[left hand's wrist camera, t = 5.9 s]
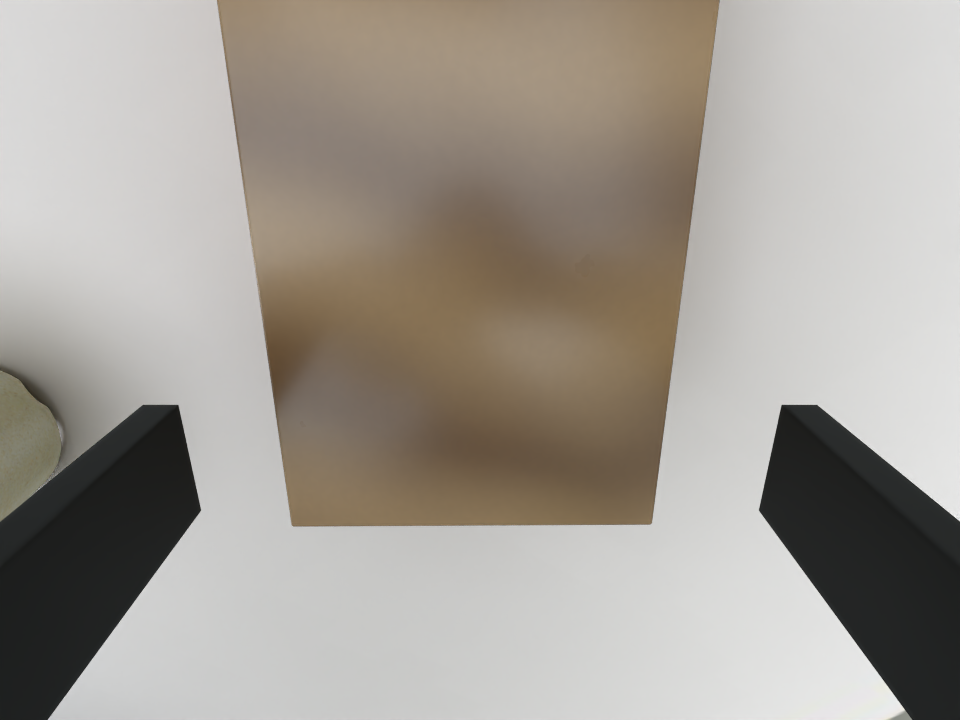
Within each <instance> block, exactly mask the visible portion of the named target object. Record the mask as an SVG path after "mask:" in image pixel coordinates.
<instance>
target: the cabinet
mask: <svg viewBox="0 0 960 720" xmlns="http://www.w3.org/2000/svg"><path fill="white" fill-rule="evenodd" d="M719 1H720V0H217V4H218V11H219V18H220V25H221V32H222V39H223V46H224V53H225V60H226V67H227V74H228V81H229V88H230V95H231V102H232V109H233V116H234V123H235V130H236V137H237V144H238V152H239V159H240V166H241V173H242V180H243V187H244V194H245V201H246V208H247V215H248V222H249V229H250V236H251V243H252V250H253V257H254V264H255V271H256V278H257V285H258V292H259V299H260V306H261V313H262V320H263V327H264V334H265V341H266V348H267V355H268V362H269V369H270V376H271V383H272V390H273V397H274V404H275V411H276V418H277V425H278V433H279V440H280V447H281V454H282V461H283V468H284V475H285V482H286V489H287V496H288V503H289V510H290V517H291V524H292V526H464V525H650V524H651V523H652V518H653V510H654V502H655V495H656V487H657V479H658V472H659V464H660V456H661V448H662V441H663V433H664V425H665V417H666V410H667V402H668V394H669V387H670V379H671V371H672V363H673V356H674V348H675V340H676V333H677V325H678V317H679V309H680V302H681V294H682V286H683V279H684V271H685V263H686V255H687V248H688V240H689V232H690V225H691V217H692V209H693V201H694V194H695V186H696V178H697V171H698V163H699V155H700V147H701V140H702V132H703V124H704V117H705V109H706V101H707V93H708V86H709V78H710V70H711V63H712V55H713V47H714V39H715V32H716V24H717V16H718V9H719Z"/></svg>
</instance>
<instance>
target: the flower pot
mask: <svg viewBox="0 0 960 720" xmlns="http://www.w3.org/2000/svg"><path fill="white" fill-rule="evenodd" d="M60 454H61V438H60V434H59V429H58V426H57V423H56V421H55V419H54V417H53V415H52V413H51V411H50V410H49V408H48V407H47V406H45V405H44V404H42V403H40V402H39V401H37V400H36V399H35V398H34V397H33V396H32V395H31V394H30V393H29V392H28V390H27V389H26V388H25V387H24V385H23V384H22V382H21V381H20V380H19V379H17V378H15V377H13V376H12V375H10V374H7V373H5V372H3V371H1V370H0V521H2V520H3V519H4V518H5V517H6V516H8V515H9V514H10V513H11V512H13V511H14V510H15V509H16V508H17V507H19V506H20V505H21V504H22V503H24V502H25V501H26V500H27V499H29V498H30V496H31V495H32V494H33V493H34V492H35V491H36V490H37V489H38V488H39V487H40V486H41V485H42V484H43V483H44V482H45V481H46V480H47V479H48V478H49V477H50V475H51V474H52V473H53V472H54V470H55V468H56V466H57V464H58V461H59V458H60Z"/></svg>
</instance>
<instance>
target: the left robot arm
mask: <svg viewBox="0 0 960 720" xmlns="http://www.w3.org/2000/svg"><path fill="white" fill-rule="evenodd" d="M200 511H201V508H200V503H199V499H198V494H197V489H196V485H195V480H194V475H193V471H192V466H191V462H190V457H189V452H188V448H187V443H186V438H185V434H184V429H183V425H182V420H181V415H180V411H179V406H178V405H142V406H141V407H140V408H139V409H138V410H136V411H135V412H134V413H133V414H131V415H130V416H129V417H128V418H127V419H125V420H124V421H123V422H122V423H120V424H119V425H118V426H117V427H115V428H114V429H113V430H112V431H111V432H109V433H108V434H107V435H106V436H104V437H103V438H102V439H101V440H100V441H98V442H97V443H96V444H95V445H93V446H92V447H91V448H90V449H89V450H87V451H86V452H85V453H84V454H82V455H81V456H80V457H79V458H78V459H76V460H75V461H74V462H73V463H71V464H70V465H69V466H68V467H66V468H65V469H64V470H63V471H62V472H60V473H59V474H58V475H57V476H55V477H54V478H53V479H52V480H51V481H49V482H48V483H47V484H46V485H44V486H43V487H42V488H41V489H40V490H38V491H37V492H36V493H35V494H33V495H32V496H31V497H30V498H29V499H27V500H26V501H25V502H24V503H22V504H21V505H20V506H19V507H17V508H16V509H15V510H14V511H13V512H11V513H10V514H9V515H8V516H6V517H5V518H4V519H3V520H2V521H0V720H48V718H49V717H50V716H51V714H52V713H53V712H54V710H55V709H56V708H57V706H58V705H59V703H60V702H61V701H62V699H63V698H64V697H65V695H66V694H67V693H68V691H69V690H70V688H71V687H72V686H73V684H74V683H75V682H76V680H77V679H78V678H79V676H80V675H81V673H82V672H83V671H84V669H85V668H86V667H87V665H88V664H89V663H90V661H91V660H92V658H93V657H94V656H95V654H96V653H97V652H98V650H99V649H100V648H101V646H102V645H103V643H104V642H105V641H106V639H107V638H108V637H109V635H110V634H111V633H112V631H113V630H114V628H115V627H116V626H117V624H118V623H119V622H120V620H121V619H122V618H123V616H124V615H125V613H126V612H127V611H128V609H129V608H130V607H131V605H132V604H133V603H134V601H135V600H136V598H137V597H138V596H139V594H140V593H141V592H142V590H143V589H144V588H145V586H146V585H147V583H148V582H149V581H150V579H151V578H152V577H153V575H154V574H155V573H156V571H157V570H158V568H159V567H160V566H161V564H162V563H163V562H164V560H165V559H166V558H167V556H168V555H169V553H170V552H171V551H172V549H173V548H174V547H175V545H176V544H177V543H178V541H179V540H180V538H181V537H182V536H183V534H184V533H185V532H186V530H187V529H188V528H189V526H190V525H191V523H192V522H193V521H194V519H195V518H196V517H197V515H198V514H199V513H200ZM759 511H760V513H761V514H762V515H763V517H764V518H765V519H766V521H767V522H768V523H769V525H770V526H771V528H772V529H773V530H774V532H775V533H776V534H777V536H778V537H779V538H780V540H781V541H782V543H783V544H784V545H785V547H786V548H787V549H788V551H789V552H790V553H791V555H792V556H793V558H794V559H795V560H796V562H797V563H798V564H799V566H800V567H801V568H802V570H803V571H804V573H805V574H806V575H807V577H808V578H809V579H810V581H811V582H812V583H813V585H814V586H815V588H816V589H817V590H818V592H819V593H820V594H821V596H822V597H823V598H824V600H825V601H826V603H827V604H828V605H829V607H830V608H831V609H832V611H833V612H834V613H835V615H836V616H837V618H838V619H839V620H840V622H841V623H842V624H843V626H844V627H845V628H846V630H847V631H848V633H849V634H850V635H851V637H852V638H853V639H854V641H855V642H856V643H857V645H858V646H859V648H860V649H861V650H862V652H863V653H864V654H865V656H866V657H867V658H868V660H869V661H870V663H871V664H872V665H873V667H874V668H875V669H876V671H877V672H878V673H879V675H880V676H881V678H882V679H883V680H884V682H885V683H886V684H887V686H888V687H889V688H890V690H891V691H892V693H893V694H894V695H895V697H896V698H897V699H898V701H899V702H900V703H901V705H902V706H903V708H904V709H905V710H906V712H907V713H908V714H909V716H910V717H911V718H912V720H960V521H958V520H957V519H956V518H955V517H954V516H952V515H951V514H950V513H949V512H947V511H946V510H945V509H944V508H943V507H941V506H940V505H939V504H938V503H936V502H935V501H934V500H933V499H931V498H930V497H929V496H928V495H927V494H925V493H924V492H923V491H922V490H920V489H919V488H918V487H917V486H916V485H914V484H913V483H912V482H911V481H909V480H908V479H907V478H906V477H905V476H903V475H902V474H901V473H900V472H898V471H897V470H896V469H895V468H894V467H892V466H891V465H890V464H889V463H887V462H886V461H885V460H884V459H882V458H881V457H880V456H879V455H878V454H876V453H875V452H874V451H873V450H871V449H870V448H869V447H868V446H867V445H865V444H864V443H863V442H862V441H860V440H859V439H858V438H857V437H856V436H854V435H853V434H852V433H851V432H849V431H848V430H847V429H846V428H845V427H843V426H842V425H841V424H840V423H838V422H837V421H836V420H835V419H833V418H832V417H831V416H830V415H829V414H827V413H826V412H825V411H824V410H822V409H821V408H820V407H819V406H818V405H782V406H781V411H780V415H779V420H778V425H777V429H776V434H775V438H774V443H773V448H772V452H771V457H770V462H769V466H768V471H767V475H766V480H765V485H764V489H763V494H762V499H761V503H760V508H759Z"/></svg>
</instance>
